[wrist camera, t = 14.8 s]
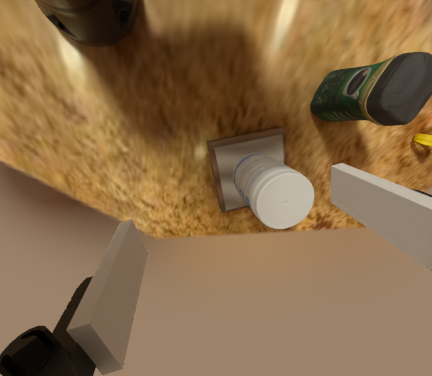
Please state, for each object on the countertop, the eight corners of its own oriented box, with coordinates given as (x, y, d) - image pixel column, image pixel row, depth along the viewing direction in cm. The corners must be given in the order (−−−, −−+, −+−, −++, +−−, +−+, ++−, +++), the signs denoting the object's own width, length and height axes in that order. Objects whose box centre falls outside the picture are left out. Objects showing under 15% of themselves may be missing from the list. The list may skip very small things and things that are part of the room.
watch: (428, 137, 53) (457, 141, 48) (421, 147, 54) (449, 153, 48) (413, 129, 51) (442, 133, 46) (406, 140, 52) (434, 145, 46)
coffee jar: (330, 126, 48) (413, 136, 30) (303, 109, 45) (377, 110, 28) (356, 84, 45) (463, 70, 28) (329, 64, 43) (428, 35, 26)
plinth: (206, 141, 45) (209, 144, 41) (278, 126, 46) (286, 128, 42) (219, 207, 51) (222, 215, 47) (282, 192, 52) (290, 199, 48)
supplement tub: (223, 184, 44) (242, 218, 31) (245, 143, 42) (275, 160, 28) (261, 200, 47) (294, 238, 34) (283, 162, 45) (328, 186, 31)
